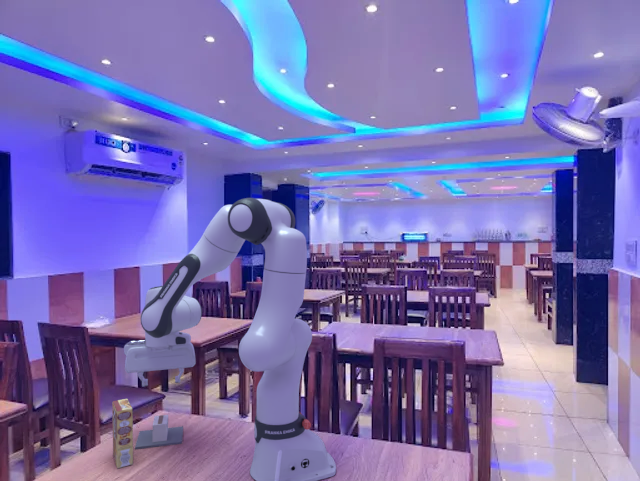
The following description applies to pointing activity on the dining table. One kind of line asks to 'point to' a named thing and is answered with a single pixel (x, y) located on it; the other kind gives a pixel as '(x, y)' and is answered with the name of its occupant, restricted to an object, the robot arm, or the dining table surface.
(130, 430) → the candy box
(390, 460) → the dining table surface
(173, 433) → the mat
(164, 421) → the block
